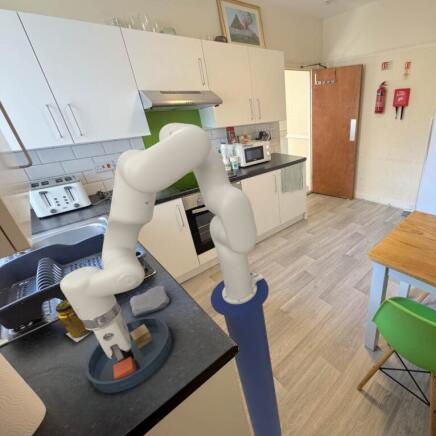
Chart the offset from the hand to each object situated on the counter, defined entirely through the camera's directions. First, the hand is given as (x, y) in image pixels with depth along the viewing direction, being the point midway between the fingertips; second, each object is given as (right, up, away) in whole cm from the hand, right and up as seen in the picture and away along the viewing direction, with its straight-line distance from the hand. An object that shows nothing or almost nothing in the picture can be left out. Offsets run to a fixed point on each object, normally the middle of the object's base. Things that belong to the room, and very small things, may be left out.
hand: (127, 360), depth 67 cm
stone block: (-5, +8, +20) cm, 22 cm away
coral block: (+2, -3, -3) cm, 4 cm away
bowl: (0, 0, +3) cm, 3 cm away
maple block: (0, +2, +7) cm, 7 cm away
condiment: (-22, +3, +13) cm, 26 cm away
